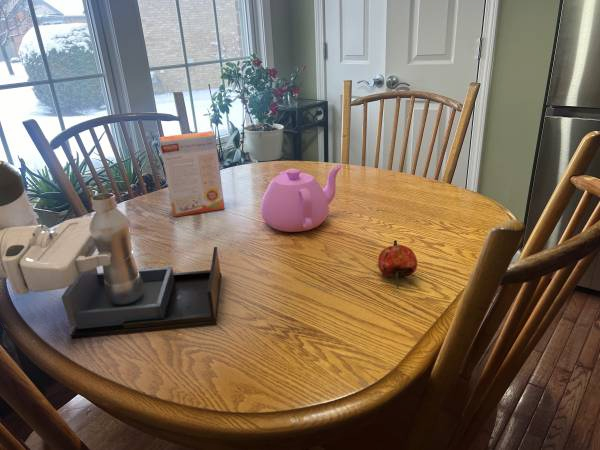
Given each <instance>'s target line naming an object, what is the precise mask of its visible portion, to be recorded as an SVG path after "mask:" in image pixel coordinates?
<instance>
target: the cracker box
mask: <svg viewBox="0 0 600 450" xmlns="http://www.w3.org/2000/svg"><path fill="white" fill-rule="evenodd" d="M216 138H217V137H216V134H215V133H214V131H213V130H209V131H202V132H201V131H200V132H193V133H192V132H191V133H183V134H174V135H166V136H159V145H160V150H161V155H162V161H163V167H164V172H165V173H164V174H165V178H166V179H165V180H166V184H167V191H168V193H169V194H168V195H169V201H170V205H171V211H172V215H173V218H176V217H182V216H189V215H194V214H195V215H196V214H201V213H207V212H213V211H220V210H224V209H225V199H224V192H223V191H224V190H223V185H222V177H221V170H220V169H221V168H220V161H219V156H218V155H219V154H218V146H217V139H216Z"/></svg>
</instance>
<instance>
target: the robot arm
mask: <svg viewBox="0 0 600 450" xmlns="http://www.w3.org/2000/svg"><path fill="white" fill-rule="evenodd" d="M25 186H26V185H25V182H24V179H23V176H22V171H21V170H20V169H19V168H18V167H16V166H14V165H13V164H11V163H9V162H7V161H4V160H0V279H7V280H8V282H9V285H10V286H11V289H12V291H13V293H14V294H15V295H25V294H28V293H30V292H35V293H36V292H47V291H56V290H57V291H58V290H63V289H65V288H68V287H69V286H70V285H72V284H73V283H74V281H75V280H76V278H77V277H78V276H79V274H80V273H81V272H85V271H89V270H91V269H94V268H99V267H103V266H107V265H109V264H110V263H111V261H112V256H111V253H110V252H99V253H97V254H94V253H95V252H96V251H97V250H98V249H97V247H96V245H95V243H94V240H93V238H92V236H91V233H90V230H89V227H90V221H91V219H92V217H93V215H91V216H83V217H76V218H69V219H66V220H64V221H62V222H61V223H59V225H58V226H56V227H54V228H53V229H52V230H50V228H49V227H48V226H47V225H44V224H39V223H38V219H37V217H36V215H35V212H34V209H33V206H32V204H31V201H30V198H29V196H28V193H27V191H26V188H25Z"/></svg>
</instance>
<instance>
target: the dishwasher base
mask: <svg viewBox="0 0 600 450" xmlns="http://www.w3.org/2000/svg"><path fill="white" fill-rule="evenodd" d="M211 258H212V259H211V265H210V269H205V270H195V271H184V272H173V274H174V284H173V287H172V291H171V294H170V298H169V301H168V305H167V308H166V312H165V315H164V318H159V319H148V320H137V321H127V322H124V323H123V325H115V326H105V327H94V328H84V329H78V327H77V326H74V329H73V330H72V332H71V334H70V338H71V340H75V339H76V340H77V339H85V338H97V337H105V336H107V337H108V336H116V335H117V336H118V335H128V334H138V333H146V332H158V331H168V330H179V329H188V328H199V327H210V326H217V325H218V316H219V308H220V307H219V306H220V296H221V286H222V272H221V266H220V260H219V259H220V258H219V251H218V246H214V247H213V251H212V257H211ZM99 287H100V286H99ZM98 289H99V288H98ZM97 291H98V290H97ZM94 296H95V295H94ZM93 298H94V297H93ZM90 303H91V302H90ZM89 305H90V304H89ZM88 307H89V306H88ZM86 310H87V309H86Z"/></svg>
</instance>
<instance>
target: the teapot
mask: <svg viewBox="0 0 600 450" xmlns="http://www.w3.org/2000/svg"><path fill="white" fill-rule="evenodd" d="M343 167H344V164H339V165H336V166H334V167H333V168H331V169H330V171H329V173H328V176H327V183H326V185H325V187H324V188H322V185H320V183H319V182H318V180H317V179H316V178H315V177H314V176H313V175H312V174H310V173H306V172H301V170H300V169H299V168H289V169H287V170H282V171H280V172H278V175H276V176H274V177H273V179H272V180H271V181H270V182H269V185H268V187H267V188H266V190H265V192H264V194H263V197H262V200H261V204H260V205H261V206H260V215H261V218H262V220H263V221H264V222H265V223H266V224H267V225H268V226H269V227H271V228H272V229H275V230H277V231H280V232H288V233H295V232H296V233H297V232H298V233H299V232H305V231H309V230H313V229H316V228H317V227H319V226H320V225H322V223H323V222H325V220H326V219H327V218H328V215H329V213H330V207H329V205H330V204H331V203H332V202H333V200H334V198H335V195H336V191H337V190H336V189H337V187H336V179H337V175H338V173H339V171H340V170H341V169H342V168H343Z"/></svg>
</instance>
